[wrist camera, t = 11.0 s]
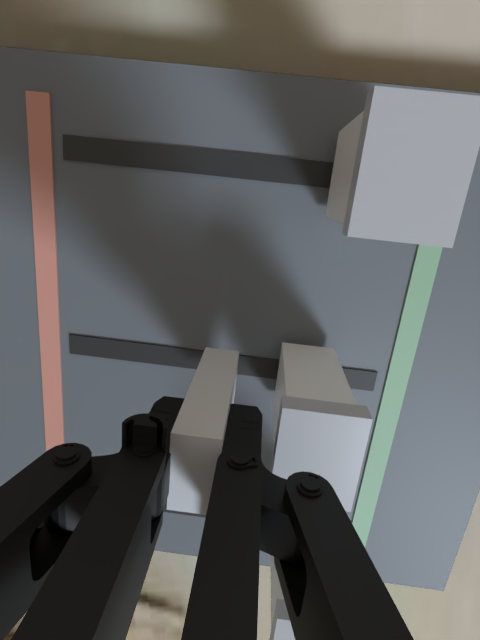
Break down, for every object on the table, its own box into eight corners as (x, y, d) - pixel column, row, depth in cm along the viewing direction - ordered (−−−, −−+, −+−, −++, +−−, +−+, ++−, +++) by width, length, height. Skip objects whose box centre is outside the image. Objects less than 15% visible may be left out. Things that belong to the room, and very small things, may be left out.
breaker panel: (-8, 499, 26) (-32, 525, 24) (-59, 52, 18) (-99, 36, 16) (430, 560, 25) (444, 592, 23) (577, 115, 17) (617, 105, 15)
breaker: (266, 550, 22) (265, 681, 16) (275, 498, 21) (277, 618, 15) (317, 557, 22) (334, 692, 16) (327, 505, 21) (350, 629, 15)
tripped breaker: (268, 406, 20) (268, 501, 14) (278, 337, 19) (282, 407, 13) (325, 413, 20) (351, 512, 14) (339, 344, 18) (372, 419, 12)
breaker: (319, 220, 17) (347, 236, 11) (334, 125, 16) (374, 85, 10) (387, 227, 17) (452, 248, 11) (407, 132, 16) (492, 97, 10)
